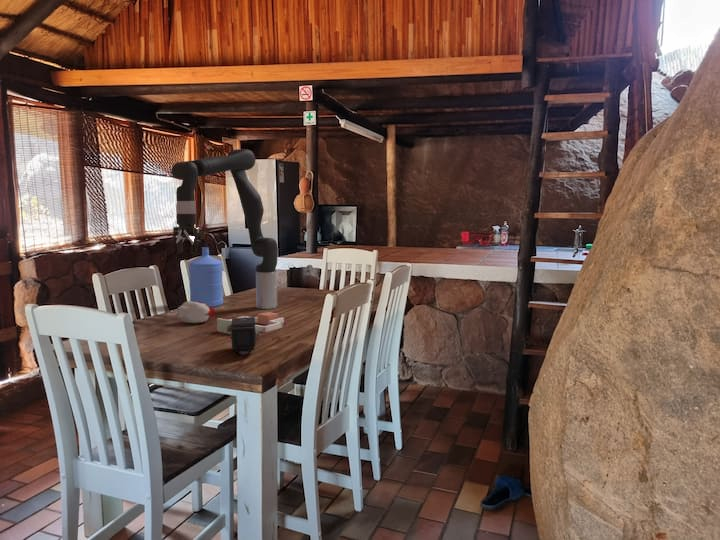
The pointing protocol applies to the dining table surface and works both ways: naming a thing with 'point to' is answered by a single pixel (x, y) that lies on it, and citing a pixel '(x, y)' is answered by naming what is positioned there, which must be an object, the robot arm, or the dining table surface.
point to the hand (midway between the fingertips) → (187, 253)
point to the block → (266, 317)
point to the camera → (243, 334)
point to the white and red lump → (194, 312)
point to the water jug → (206, 280)
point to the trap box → (271, 325)
